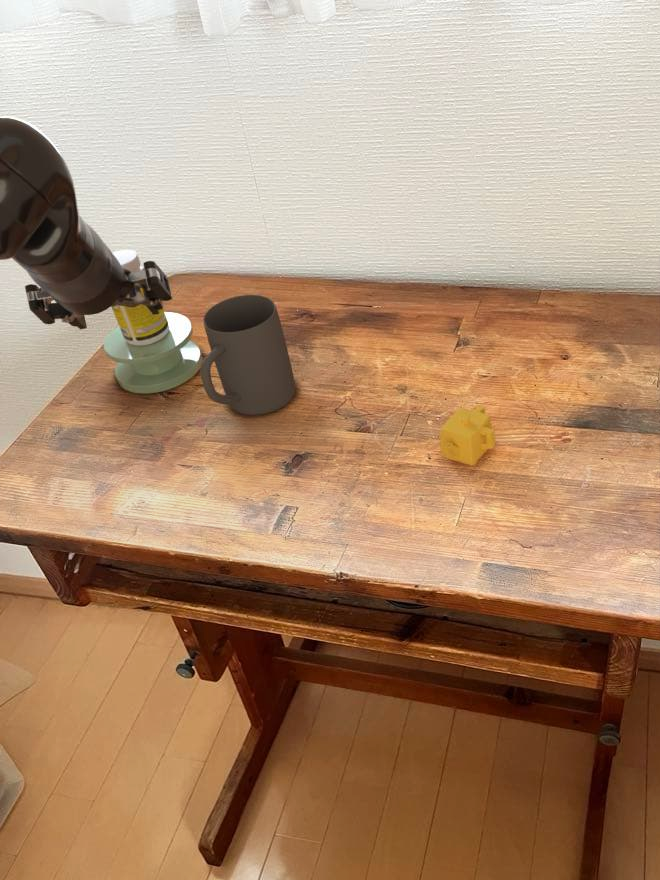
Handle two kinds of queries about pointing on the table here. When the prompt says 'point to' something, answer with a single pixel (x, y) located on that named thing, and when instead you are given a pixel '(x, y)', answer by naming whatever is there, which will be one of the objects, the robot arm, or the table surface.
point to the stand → (155, 358)
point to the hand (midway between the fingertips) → (118, 313)
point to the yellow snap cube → (467, 435)
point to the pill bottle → (138, 311)
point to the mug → (248, 355)
